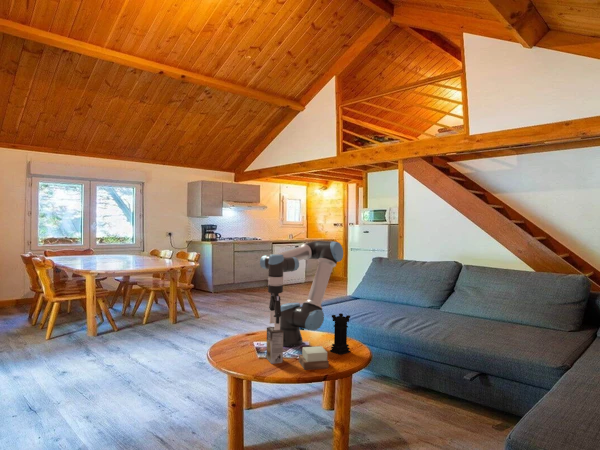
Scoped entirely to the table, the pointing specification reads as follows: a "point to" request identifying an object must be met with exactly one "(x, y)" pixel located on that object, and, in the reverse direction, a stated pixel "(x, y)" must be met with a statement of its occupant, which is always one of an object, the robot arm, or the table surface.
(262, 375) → the table surface
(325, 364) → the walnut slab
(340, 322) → the chess piece
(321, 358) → the sage block
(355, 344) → the table surface
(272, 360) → the coffee box
